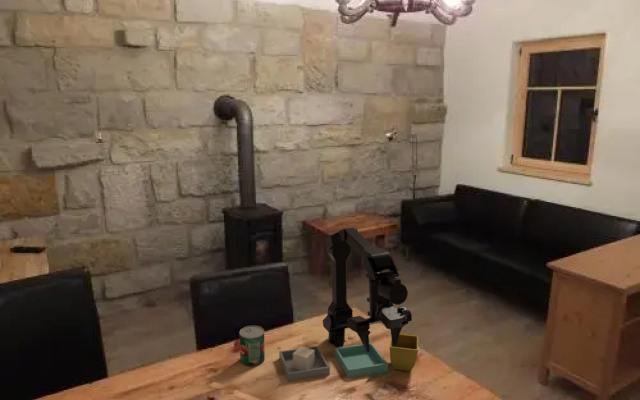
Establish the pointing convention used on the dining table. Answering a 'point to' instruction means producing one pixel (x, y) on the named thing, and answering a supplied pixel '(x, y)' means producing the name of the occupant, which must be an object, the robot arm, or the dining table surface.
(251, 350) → the canned tomato
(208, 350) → the dining table surface
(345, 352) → the teal bin
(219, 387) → the dining table surface
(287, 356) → the charcoal bin
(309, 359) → the stone block
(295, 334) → the dining table surface
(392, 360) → the flower pot
